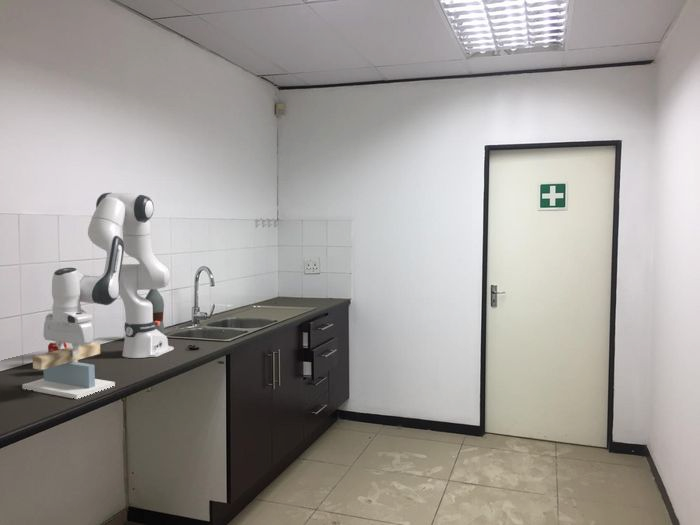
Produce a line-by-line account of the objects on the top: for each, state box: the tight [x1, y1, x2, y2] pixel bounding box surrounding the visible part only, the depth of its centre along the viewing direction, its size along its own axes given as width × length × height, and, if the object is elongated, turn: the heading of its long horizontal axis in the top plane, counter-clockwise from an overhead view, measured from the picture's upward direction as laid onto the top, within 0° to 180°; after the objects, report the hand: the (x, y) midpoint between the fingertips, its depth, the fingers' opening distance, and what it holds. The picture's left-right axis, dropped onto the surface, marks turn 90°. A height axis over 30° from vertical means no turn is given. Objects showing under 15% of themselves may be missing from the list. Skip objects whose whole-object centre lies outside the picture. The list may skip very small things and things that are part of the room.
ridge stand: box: [21, 361, 116, 400], centre depth 203 cm, size 16×26×9 cm, turn 66°
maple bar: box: [32, 341, 101, 371], centre depth 202 cm, size 24×4×4 cm, turn 156°
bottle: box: [144, 289, 166, 335], centre depth 279 cm, size 9×9×30 cm
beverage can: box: [47, 340, 67, 353], centre depth 222 cm, size 6×6×12 cm
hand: (68, 354), depth 202 cm, fingers closed on maple bar, 4 cm apart
